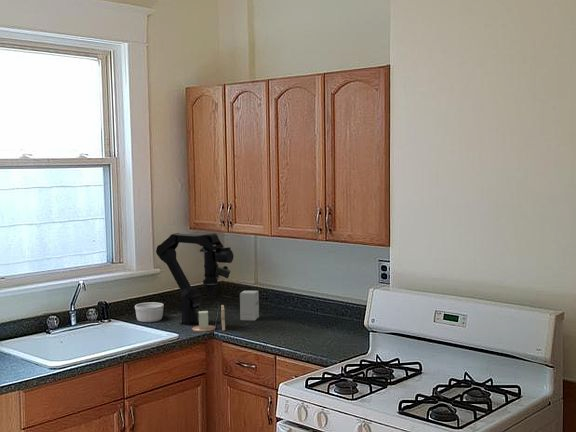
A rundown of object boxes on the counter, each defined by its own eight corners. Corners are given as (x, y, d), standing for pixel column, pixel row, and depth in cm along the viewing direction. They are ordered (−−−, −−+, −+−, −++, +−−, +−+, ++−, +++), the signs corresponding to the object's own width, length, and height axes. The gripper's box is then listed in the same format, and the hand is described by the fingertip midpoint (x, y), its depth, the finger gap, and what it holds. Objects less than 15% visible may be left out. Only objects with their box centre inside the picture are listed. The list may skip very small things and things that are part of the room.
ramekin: (170, 319, 349) (169, 304, 348) (147, 324, 339) (147, 309, 339) (151, 315, 358) (151, 301, 357) (129, 320, 348) (128, 305, 347)
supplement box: (255, 320, 341) (254, 293, 340) (239, 320, 343) (239, 293, 341) (259, 317, 348) (258, 290, 347) (244, 316, 350) (243, 290, 349)
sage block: (208, 328, 326) (207, 312, 325) (199, 329, 325) (198, 313, 325) (208, 326, 330) (207, 310, 329) (199, 327, 329) (198, 311, 329)
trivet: (187, 330, 325) (187, 329, 325) (199, 325, 334) (199, 324, 334) (208, 332, 321) (208, 331, 321) (219, 327, 330) (219, 326, 330)
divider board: (225, 330, 323) (224, 309, 323) (222, 330, 323) (221, 309, 323) (224, 325, 333) (223, 305, 333) (221, 325, 333) (221, 305, 332)
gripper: (228, 264, 322) (229, 300, 323) (229, 258, 340) (230, 292, 341) (202, 265, 321) (203, 301, 322) (204, 259, 340) (205, 293, 341)
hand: (211, 296), depth 332 cm, fingers open, 9 cm apart
